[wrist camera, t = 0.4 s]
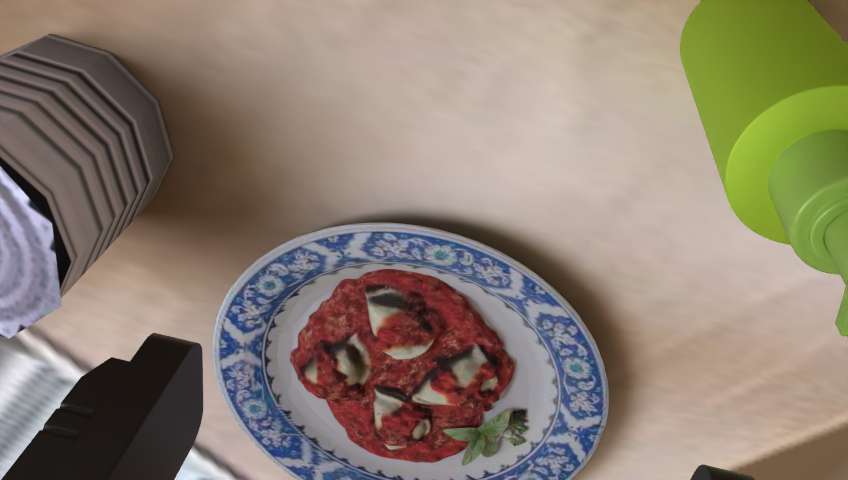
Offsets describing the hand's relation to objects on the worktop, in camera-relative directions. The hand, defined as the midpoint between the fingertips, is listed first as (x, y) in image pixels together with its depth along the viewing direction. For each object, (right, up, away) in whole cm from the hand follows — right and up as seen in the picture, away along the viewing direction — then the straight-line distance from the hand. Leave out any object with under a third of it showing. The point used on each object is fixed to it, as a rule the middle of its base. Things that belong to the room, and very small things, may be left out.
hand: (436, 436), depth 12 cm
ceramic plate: (-1, -6, +39) cm, 39 cm away
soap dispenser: (+15, +13, +23) cm, 30 cm away
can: (-20, +10, +32) cm, 39 cm away
